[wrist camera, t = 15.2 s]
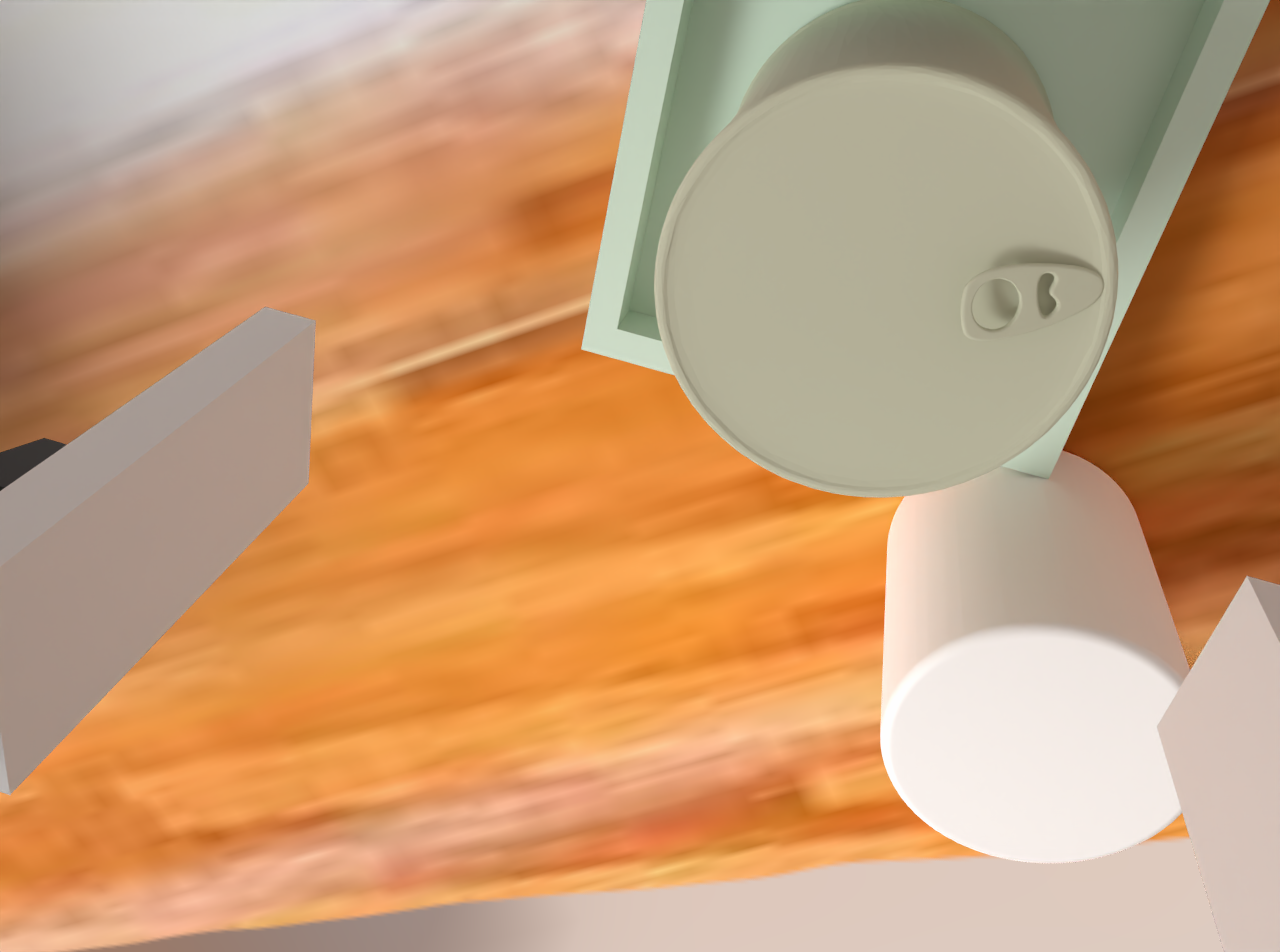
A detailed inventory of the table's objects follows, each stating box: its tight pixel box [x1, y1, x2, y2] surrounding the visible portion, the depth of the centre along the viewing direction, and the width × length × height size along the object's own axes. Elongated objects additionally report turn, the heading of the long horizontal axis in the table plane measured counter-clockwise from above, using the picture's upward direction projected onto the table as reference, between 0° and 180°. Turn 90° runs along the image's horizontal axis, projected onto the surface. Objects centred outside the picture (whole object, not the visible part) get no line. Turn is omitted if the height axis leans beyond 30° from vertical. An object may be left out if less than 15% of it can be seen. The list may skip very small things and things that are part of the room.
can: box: [654, 0, 1118, 497], centre depth 27 cm, size 9×9×12 cm
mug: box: [880, 450, 1190, 863], centre depth 34 cm, size 8×10×12 cm
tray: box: [581, 0, 1270, 479], centre depth 31 cm, size 15×15×2 cm
